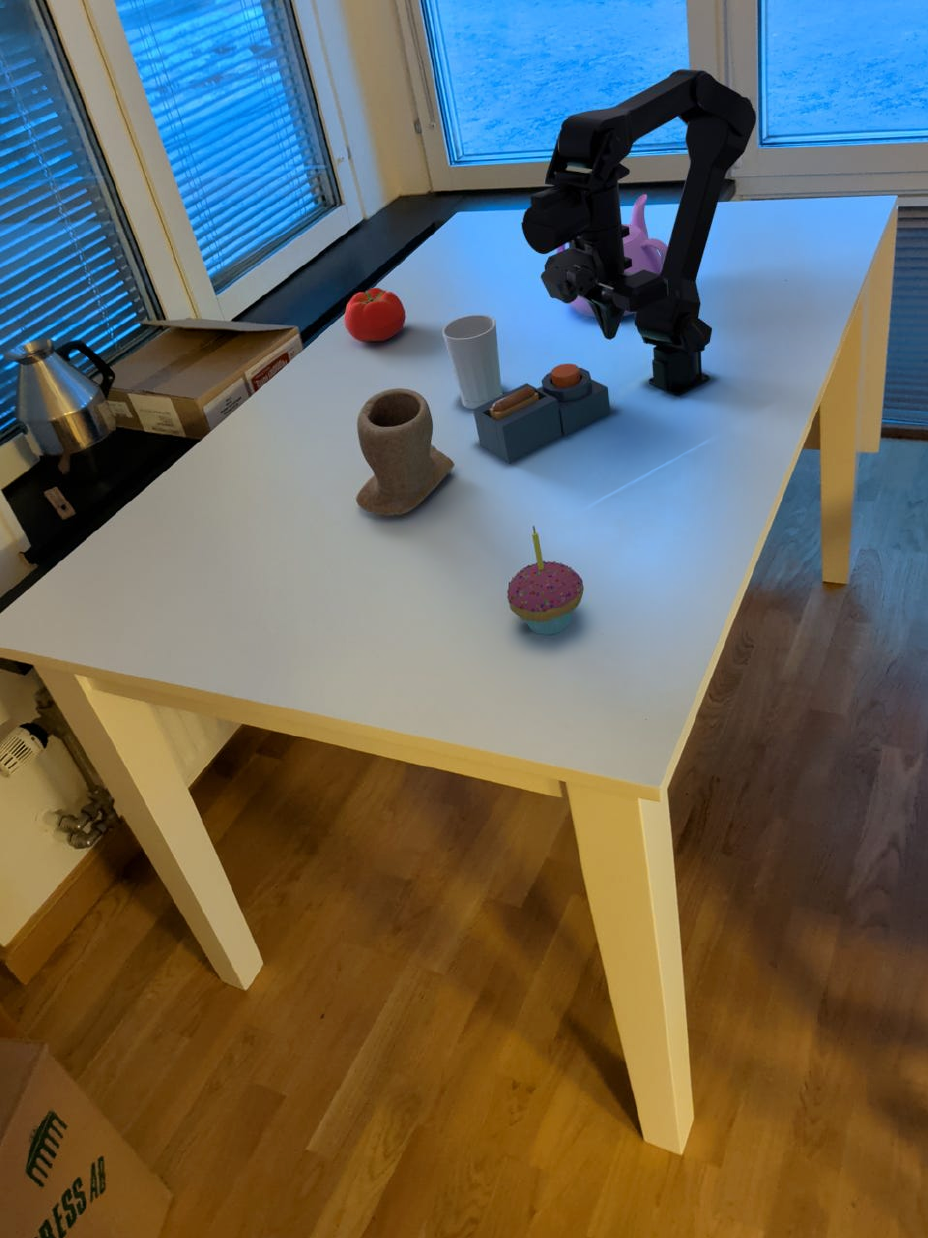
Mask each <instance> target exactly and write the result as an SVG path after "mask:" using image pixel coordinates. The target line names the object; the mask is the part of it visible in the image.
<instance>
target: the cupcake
mask: <svg viewBox="0 0 928 1238" xmlns="http://www.w3.org/2000/svg"><path fill="white" fill-rule="evenodd" d="M532 530H533V532H532V533H531V536H532V542H533V548H534V554H535V559H536V562H535V563H531V564H527V565H526V566H525V567H522V568H521V569H520V570H519V571H518V572H517V573H516V574H515V576H512V578H511V581H509V582H508V588H507V591H506V595H507V596H506V598H507V602H508V605H509V608H510V611H511V612H512V613H514V614H515V615H516V616H518V617H519V618H520V619H521V620H523V621H525V623H526V624H527V626H528V627H529V629H530V630H531V631H532V632H533V633H536V634H538V635H543V636H551V635H556V634H558V633H560V632H562V631H564V629H566V628H567V627H568V626H569V624H570V621H571V617H572V612H573V611H574V610H576V609H577V608H578V606H579V605H580V603H581V602H582V598H583V594H584V583H583V582H584V581H583V579H582V577H580V574H579V573H577V572H576V570H575V569H573V568H572V567H571V566H569V565H567V564H563V563H562V562H556V561H555V560H553V561H550V560H549V561H548V560H547V561H546V560H544V559H543V555H542V549H541V543H540V537H539V532H537V531H536V526H535V525H532Z"/></svg>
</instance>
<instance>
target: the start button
mask: <svg viewBox="0 0 928 1238" xmlns="http://www.w3.org/2000/svg"><path fill="white" fill-rule="evenodd" d="M579 368H580V367H579V366H578V365H576V364H574V363H562V364H558V365H556V366H554V367H553V368H551V370H550V372H551V378H552V384H553V385H554V386H556V387H568V386H572V385H574V384H576V383H578V382H579V381H580V373H579Z"/></svg>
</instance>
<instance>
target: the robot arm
mask: <svg viewBox="0 0 928 1238" xmlns="http://www.w3.org/2000/svg"><path fill="white" fill-rule="evenodd" d="M676 118H678V119H679V120H680V121H681V122H683V123H684V124H685V125H686V126H687V127H686V130H685V131H686V132H685V137H684V142H685V146H686V151H687V155H688V159H689V167H688V170H687V174H686V178H685V181H684V186H683V189H682V192H681V196H680V200H679V204H678V208H677V210H676V215H675V217H674V218H675V219H674V222H673V226H672V229H671V232H670V236H669V240H668V244H667V251H666V255H665V258H664V262H663V266H662V269H661V272H660V274H656V273H653V272H650V271H647V270H644V269H643V270H641V271H639V272H637V273H635V274H632V273H629V272H626V271H624V270H626V269H628V268H630V267H632V259H631V258H628V257H625V255H624V244H623V238H624V237H626V236H628V235H630V232H629V227H627V226H624V225H622V224H623V221H622V212H621V211H622V210H621V200H620V199H621V198H620V190H619V189H620V188H619V181H620V180H621V179H623V178H626V177H627V176H629V175H630V174H631V170H630V168H628V167H626V166H625V165H623V164H622V163H621V162H622V161H623V160H624V159H626V158H627V157H628V156H629V155H630V154H631V152H632V148H633V145H634V144H635V143H636V142H637V141H638V140H639V139H641V138H642V137H644V136H647V135H648V134H650V133H651V132H654V131H655V130H657V129H659V128H660V127H662V126H664V125H666V124H668V123H669V122H671V121H673V120H675V119H676ZM756 123H757V114H756V111H755V109H754V106H753V104H752V101H751V99H749V98H748V97H746V96H742V95H741V93H739V92H737V91H736V90H733V89H732V88H730V87H728V86H726V85H725V84H723V83H721V82H719V81H718V80H717V79H716V78H715V77H714V76H713V75H712V74H711V73H708V72H707V71H706V70H703V69H702V70H701V69H688V68H687V69H686V68H679V69H677V70H676V71H675V70H674V71H672V72H671V73H670V74H669V76H668V77H666V78H664V79H662V80H661V81H659V82H657V83H655V84H653V85H651V86H649V87H647V88H645V89H644V90H642V91H641V92H638V93H636V94H634V95H632V96H631V97H629V98H627V99H625V100H624V101H622V102H620V103H618V104H616V105H615V106H612V107H608V108H602V109H594V110H586V111H584V112H579V113H576V114H575V113H574V114H572V115H569V116H568V117H567V118H565V119H564V120H563V122H562V123H561V124H560V131H559V133H558V136H557V138H556V142H555V145H554V148H553V151H552V155H551V157H550V161H549V165H548V168H547V171H546V173H545V174H546V175H545V178H544V185H547V186H550V187H548V188H547V189H544V190H543V191H538V192H535V193H533V194H531V195H530V196H529V204H530V206H529V207H528V208H526V210H524V213H523V216H522V222H521V223H520V225H521V230H522V234H523V236H524V239H525V241H526V243H527V244H528V245H529V247H530V248H531V249H532V250H533V251H534V252H536V253H538V254H540V255H547V254H550V253H552V252H553V251H556V250H557V248H559V247H561V246H562V245H564V244H565V245H566V244H568V248H565V250H563V251H561V252H559V253H557V252H556V253H554V254H552V255H550V256H548V258H547V259H546V262H545V264H544V270H543V272H542V273H541V274H540V280H541V282H542V284H543V285H544V288H545V289H546V292H547V293H548V295H549V297H550V298H552V299H557V300H558V301H561V302H562V303H564V304H569V303H571V302H573V301H574V300H575V299H577V297H578V296H580V297H581V298H583V299H585V300H586V301H587V302H588V303H589V305H590V307H591V309H592V311H593V313H594V315H595V317H596V318H595V319H596V322H597V323H598V325H599V328H600V330H601V332H602V334H603V336H604V338H605V339H607V340H609V341H610V340H613V339H615V337H616V336H617V333H618V330H619V327H620V325H621V322H622V321H623V317H624V316H623V315H624V313H625V310H626V311H629V312H636V313H634V314H635V315H634V326H636V329H637V332H638V334H639V335H640V338H641V340H642V342H643V344H646V345H652V346H654V347H652V351H653V358H652V360H651V365H652V366H651V367H652V376H653V377H651V378H650V379H648V384H649V385H651V386H653V387H656V388H658V389H660V390H662V391H664V392H666V393H668V394H671V395H673V396H676V397H679V396H681V395H683V394H684V393H686V392H689V391H691V390H692V389H695V388H696V387H698V386H700V385H702V384H704V383H706V382H707V381H709V380H710V375H709V374H706V373H704V372H703V369H702V352H705V350H706V346H708V345H709V344H711V338H712V333H713V327H712V326H710V325H709V324H707V323H706V322H705V321H704V320H702V319H701V318H699V315H700V310H701V305H702V304H701V303H702V302H701V298H700V295H699V291H698V286H697V278H698V273H699V271H700V268H701V263H702V260H703V256H704V252H705V250H706V245H707V242H708V238H709V235H710V231H711V228H712V225H713V221H714V218H715V214H716V211H717V207H718V204H719V200H720V196H721V193H722V190H723V186H724V182H725V179H726V175H727V173H728V171H729V170H730V169H731V168H732V167H733V165H734V164H736V162H737V161H738V160H739V159H740V158H741V156H742V155H744V153H745V151H746V149H747V147H748V144H749V142H750V139H751V136H752V133H753V132H754V129H755V126H756ZM569 167H570V168H571V167H572V168H578V169H586V170H590V171H589V172H583V171H576V170H569V169H568V168H569ZM568 242H569V243H568Z"/></svg>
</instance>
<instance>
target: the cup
mask: <svg viewBox="0 0 928 1238" xmlns="http://www.w3.org/2000/svg"><path fill="white" fill-rule="evenodd" d="M497 335H498V333H497V321H496V319H495V318H494V317H492V316H491V315H487V314H470V315H465V316H461V317H458V318H456V319H453V320H451V321H450V322H448V323H446V325H444V327H443V328H442V336H443V339H444V343H445V346H446V349H447V352H448V357H449V359H450V362H451V363H450V364H451V366H452V369H453V373H454V376H455V380H456V384H457V386H458V389H459V395H460V398H461V402H462V405H463V406H464V407H465V408H467V409H471V410H473V409H475V408H477V407H479V406H481V405H483V404H485V403H487V402H489V401H491V400H493V399H495V398H497V397H499V396H501V395H503V394H504V393H503V388H502V379H501V369H500V358H499V357H500V356H499V348H498V336H497Z"/></svg>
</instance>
